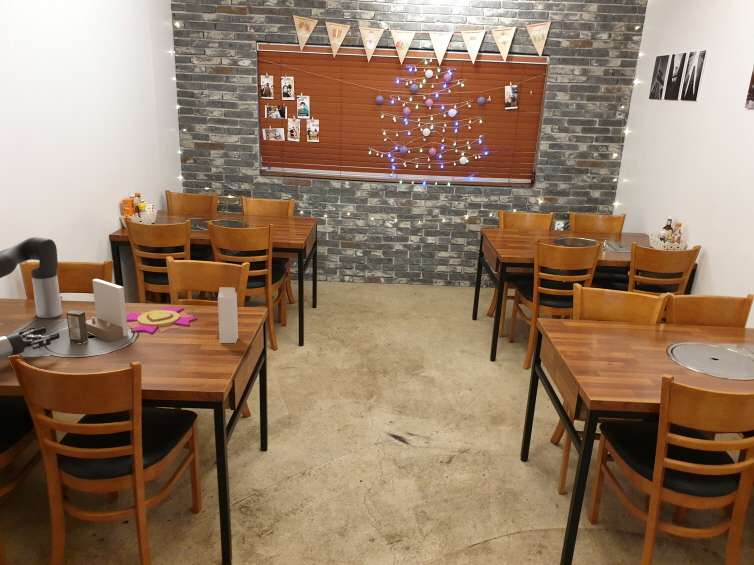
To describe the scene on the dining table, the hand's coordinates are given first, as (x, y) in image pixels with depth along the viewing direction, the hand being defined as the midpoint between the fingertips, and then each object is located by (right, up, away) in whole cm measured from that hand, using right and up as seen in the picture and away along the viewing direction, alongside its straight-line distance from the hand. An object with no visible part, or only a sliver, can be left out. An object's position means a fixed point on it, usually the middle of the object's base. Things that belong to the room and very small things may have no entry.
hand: (52, 332), depth 212 cm
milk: (+60, -5, +16) cm, 63 cm away
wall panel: (+11, -2, +19) cm, 22 cm away
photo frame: (+5, -4, +10) cm, 12 cm away
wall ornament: (+26, +2, +35) cm, 43 cm away
